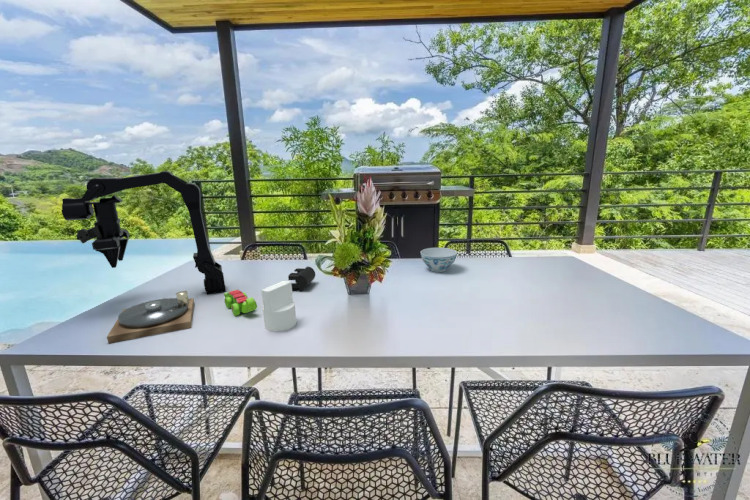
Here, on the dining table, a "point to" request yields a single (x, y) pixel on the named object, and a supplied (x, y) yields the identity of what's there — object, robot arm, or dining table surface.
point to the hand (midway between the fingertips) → (117, 263)
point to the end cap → (301, 278)
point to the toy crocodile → (239, 302)
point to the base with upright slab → (278, 307)
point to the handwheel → (155, 312)
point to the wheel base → (151, 327)
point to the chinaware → (438, 258)
